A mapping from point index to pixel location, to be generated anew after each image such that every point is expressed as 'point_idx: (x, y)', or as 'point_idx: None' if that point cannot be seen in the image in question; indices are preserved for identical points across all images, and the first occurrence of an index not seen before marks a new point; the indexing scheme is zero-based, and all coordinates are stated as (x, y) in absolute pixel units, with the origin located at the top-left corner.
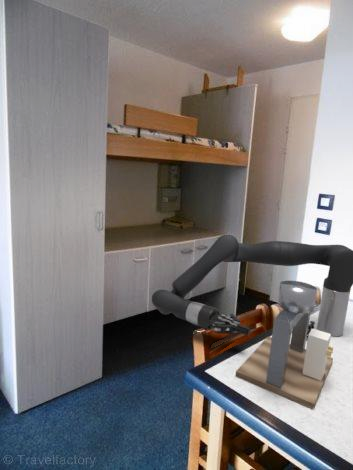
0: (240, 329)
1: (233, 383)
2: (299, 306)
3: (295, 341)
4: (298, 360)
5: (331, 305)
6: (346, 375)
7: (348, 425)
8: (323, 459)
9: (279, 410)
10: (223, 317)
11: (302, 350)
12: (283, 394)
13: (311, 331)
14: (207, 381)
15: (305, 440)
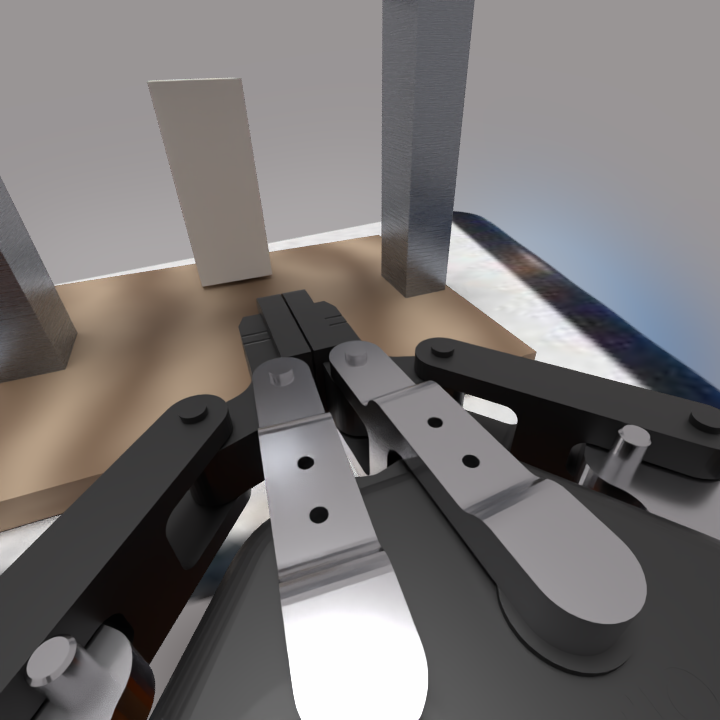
0: (351, 335)
1: (565, 352)
2: None
3: (42, 305)
4: (172, 313)
5: None
6: (124, 273)
7: (352, 227)
8: (477, 217)
9: (472, 265)
10: (396, 607)
11: (70, 320)
12: None
13: (190, 80)
14: (712, 394)
15: (477, 231)
